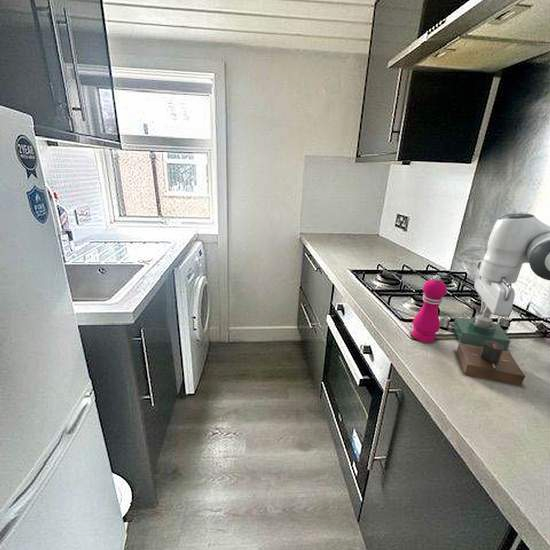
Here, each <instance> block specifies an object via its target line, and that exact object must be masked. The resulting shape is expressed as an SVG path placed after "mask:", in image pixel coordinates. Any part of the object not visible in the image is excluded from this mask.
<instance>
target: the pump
mask: <svg viewBox="0 0 550 550" xmlns="http://www.w3.org/2000/svg"><path fill="white" fill-rule="evenodd" d="M475 317H476V319H475V323H476V324H477V325H480V326H483V327H490V326H491V323H492V322H493V319H492V318H491V317H490V318H485V317H483V316H482V314H477V315H476V316H475Z"/></svg>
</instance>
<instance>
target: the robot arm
mask: <svg viewBox="0 0 550 550" xmlns="http://www.w3.org/2000/svg"><path fill="white" fill-rule="evenodd" d="M523 264H529V268H530V269H531V271H532V272H533V274H535V275H536V276H537V277H539V278H541V279H543V280H545V281H550V225H548V224H546V223H544V222H542V221H541V220H540V219H539V218H537V217H536V216H535V215H534V214H531V213H523V212H522V213H521V212H520V213H519V212H518V213H509V214H505V215H502V216H500V217H498V219H496V222H495V223H494V225H493V227H492V230H491V232H490V235H489V238H488V241H487V250H486V253H485V254H484V256H483V258H482V260H478V261H477V263H476V268H477V270H476V274H475V278H474V285H473V287H474V290H475V291H476V293H477V294H478V295H479V297H480V298H481V308H480V311H479V312H480V315H482V316H483V317H485V318H491V315H493V316H497V317H504V318H507V317H509V316H510V314H511V312H512V308H513V306H514V301H515V297H516V292H515V289H514V288H513V287H512V286H513V284H515V283H516V282H517V281H518V278H519V275H520V273H521V270H522V267H523Z"/></svg>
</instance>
